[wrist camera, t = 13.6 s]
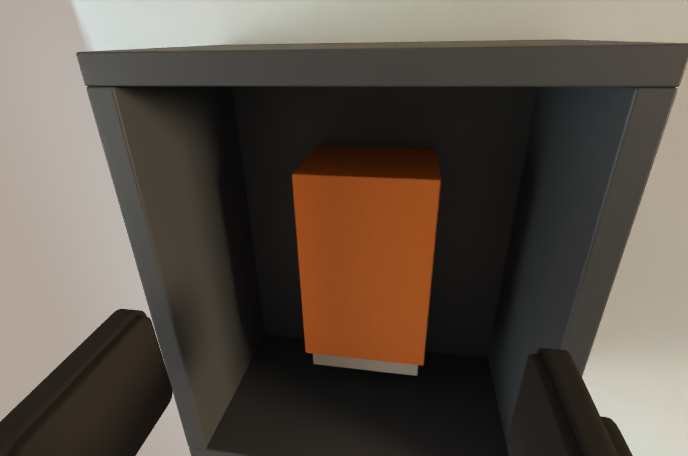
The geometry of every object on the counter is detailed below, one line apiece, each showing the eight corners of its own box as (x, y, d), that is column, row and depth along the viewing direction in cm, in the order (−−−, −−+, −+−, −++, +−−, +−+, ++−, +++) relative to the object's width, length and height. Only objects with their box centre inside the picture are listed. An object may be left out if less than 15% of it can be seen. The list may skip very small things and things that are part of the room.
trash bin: (217, 45, 17) (74, 52, 10) (563, 39, 15) (694, 43, 8) (258, 334, 23) (191, 459, 17) (498, 360, 21) (536, 515, 14)
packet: (317, 145, 17) (291, 174, 13) (436, 147, 16) (441, 179, 13) (325, 313, 21) (306, 370, 17) (421, 322, 20) (422, 384, 17)
